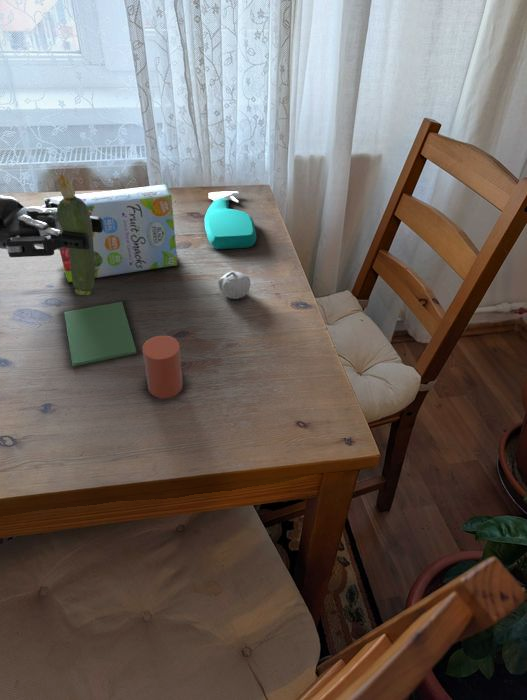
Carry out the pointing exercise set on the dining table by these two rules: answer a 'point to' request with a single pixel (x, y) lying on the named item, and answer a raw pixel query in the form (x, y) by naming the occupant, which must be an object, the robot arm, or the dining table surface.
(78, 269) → the vegetable
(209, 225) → the spray bottle
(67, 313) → the green mat
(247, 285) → the garlic
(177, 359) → the orange cylinder block
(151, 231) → the snack box
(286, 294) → the dining table surface
